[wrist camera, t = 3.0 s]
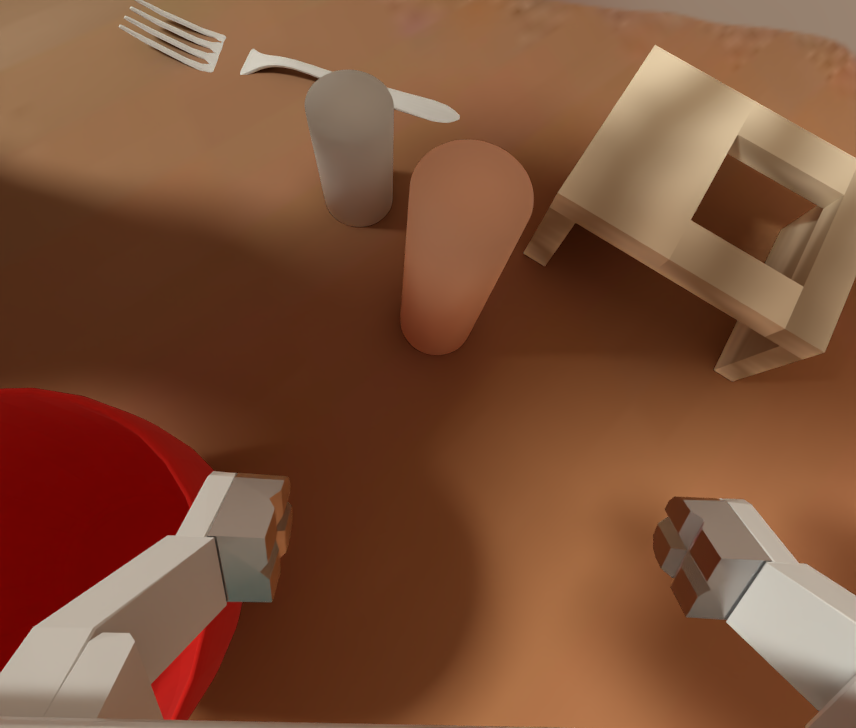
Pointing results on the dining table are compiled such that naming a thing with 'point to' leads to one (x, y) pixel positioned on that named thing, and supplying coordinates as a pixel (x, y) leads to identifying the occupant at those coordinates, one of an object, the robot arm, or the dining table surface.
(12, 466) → the ceramic cup
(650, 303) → the dining table surface
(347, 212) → the short dowel
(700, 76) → the bridge
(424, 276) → the long dowel
